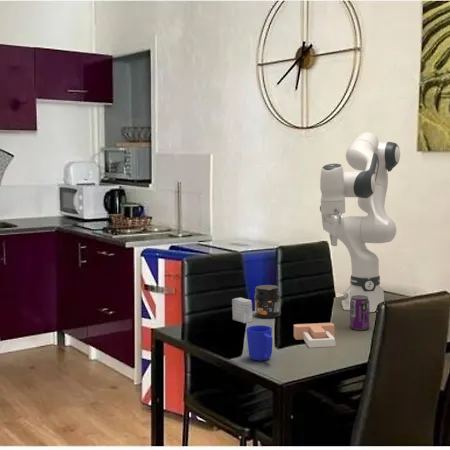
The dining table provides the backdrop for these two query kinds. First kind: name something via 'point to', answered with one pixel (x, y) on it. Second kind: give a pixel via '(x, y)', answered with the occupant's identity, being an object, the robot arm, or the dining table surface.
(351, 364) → the dining table surface
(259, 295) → the supplement container
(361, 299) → the beverage can
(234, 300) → the medicine box
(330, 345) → the dock
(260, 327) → the mug
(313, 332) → the t block
